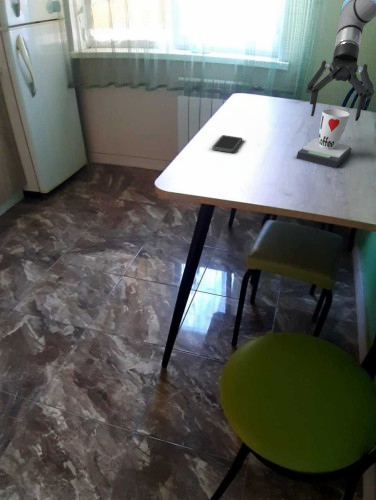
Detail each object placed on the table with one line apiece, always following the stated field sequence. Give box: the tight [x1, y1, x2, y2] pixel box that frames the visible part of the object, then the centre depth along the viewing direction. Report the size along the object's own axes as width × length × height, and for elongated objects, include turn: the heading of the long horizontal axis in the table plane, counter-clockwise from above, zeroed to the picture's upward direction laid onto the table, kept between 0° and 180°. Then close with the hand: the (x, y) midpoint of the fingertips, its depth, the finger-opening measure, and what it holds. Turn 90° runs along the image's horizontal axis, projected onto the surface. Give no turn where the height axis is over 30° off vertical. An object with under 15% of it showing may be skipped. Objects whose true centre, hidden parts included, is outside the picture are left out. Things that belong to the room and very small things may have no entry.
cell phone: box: [211, 134, 243, 154], centre depth 137 cm, size 7×14×1 cm, turn 162°
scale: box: [296, 137, 353, 169], centre depth 133 cm, size 13×15×3 cm
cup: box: [318, 108, 351, 149], centre depth 129 cm, size 8×8×10 cm
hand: (335, 116), depth 127 cm, fingers open, 13 cm apart
